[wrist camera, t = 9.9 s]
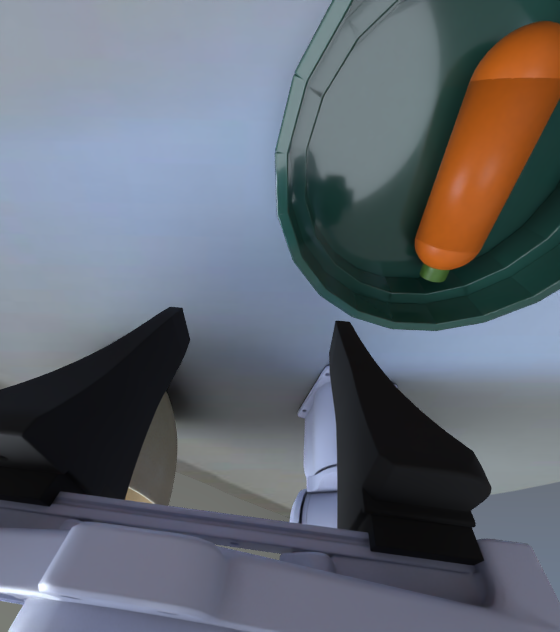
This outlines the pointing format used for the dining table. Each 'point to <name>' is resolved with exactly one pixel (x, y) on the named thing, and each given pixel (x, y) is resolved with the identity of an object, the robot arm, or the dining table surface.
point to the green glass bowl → (406, 164)
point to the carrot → (489, 146)
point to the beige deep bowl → (156, 459)
